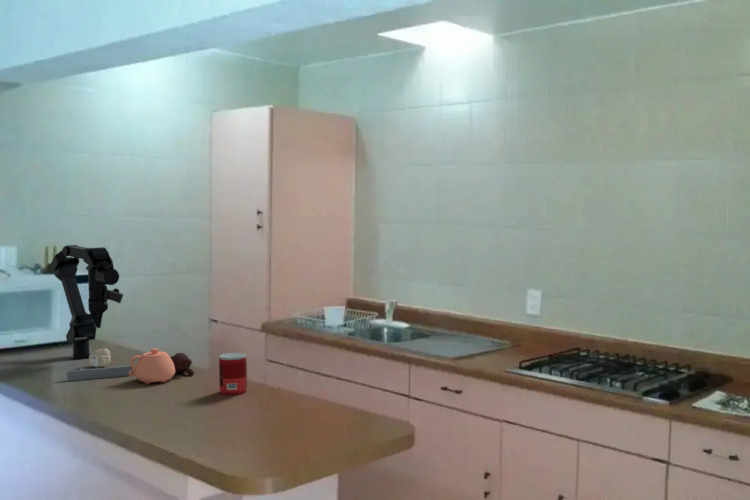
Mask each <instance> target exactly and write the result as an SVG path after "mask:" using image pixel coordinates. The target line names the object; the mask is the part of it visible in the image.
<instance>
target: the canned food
mask: <svg viewBox="0 0 750 500" xmlns="http://www.w3.org/2000/svg"><path fill="white" fill-rule="evenodd" d="M247 362H248V359H247V354H246V353H245V352H244V353H243V352H228V353H222V354H219V355H218V367H219V368H218V372H219V392H220V394H221V395H224V396H236V395H242V394H244V393H246V392H247V390H248V367H247V366H248V363H247Z"/></svg>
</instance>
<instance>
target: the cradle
mask: <svg viewBox="0 0 750 500" xmlns="http://www.w3.org/2000/svg"><path fill="white" fill-rule="evenodd" d="M130 370H133V369H132V366H131V365H122V366H121V364H117V365H116V366H111V367H95V368H86V369H85V367H80V369H74V370H66V378H67V380H66V381H67V382H72V381H82V380H95V379H106V378H108V379H109V378H116V377H128V376H130V375H129V371H130ZM131 374H133V372H131ZM130 377H131V376H130Z"/></svg>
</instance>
